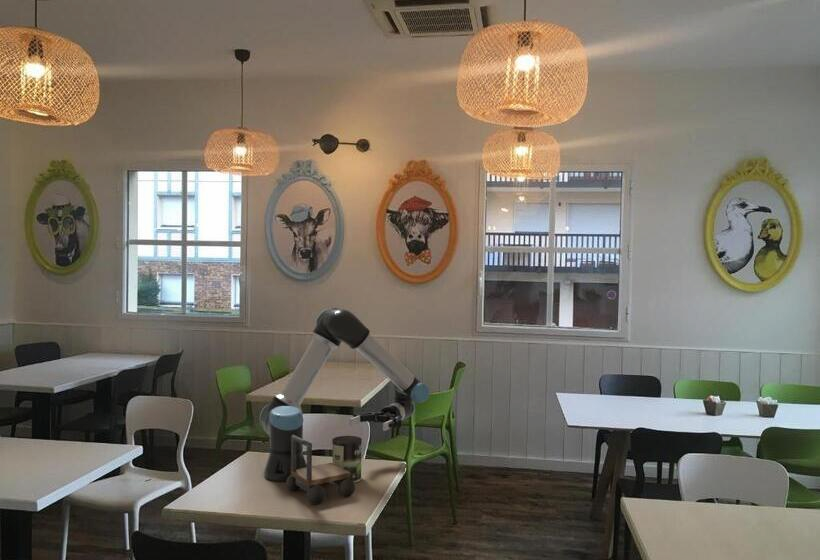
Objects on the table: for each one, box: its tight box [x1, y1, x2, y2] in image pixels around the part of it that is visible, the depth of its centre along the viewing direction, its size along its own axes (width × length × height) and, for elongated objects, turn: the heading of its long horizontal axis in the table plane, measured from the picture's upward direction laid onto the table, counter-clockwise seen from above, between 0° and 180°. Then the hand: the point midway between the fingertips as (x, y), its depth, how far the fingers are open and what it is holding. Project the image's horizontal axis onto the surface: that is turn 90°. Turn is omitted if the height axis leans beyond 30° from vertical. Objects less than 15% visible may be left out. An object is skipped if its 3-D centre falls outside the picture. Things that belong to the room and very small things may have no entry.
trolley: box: [285, 435, 356, 505], centre depth 209 cm, size 17×17×19 cm
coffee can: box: [331, 435, 363, 484], centre depth 223 cm, size 10×10×14 cm
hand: (367, 424), depth 232 cm, fingers open, 13 cm apart
